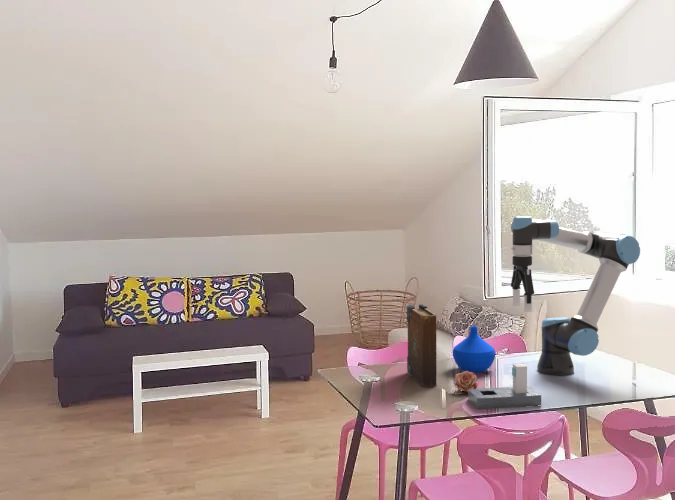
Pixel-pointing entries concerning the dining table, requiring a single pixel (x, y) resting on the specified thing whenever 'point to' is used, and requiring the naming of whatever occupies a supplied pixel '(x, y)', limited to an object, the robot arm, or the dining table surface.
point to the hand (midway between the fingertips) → (522, 308)
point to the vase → (474, 353)
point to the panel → (503, 398)
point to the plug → (519, 378)
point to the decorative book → (421, 345)
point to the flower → (466, 381)
